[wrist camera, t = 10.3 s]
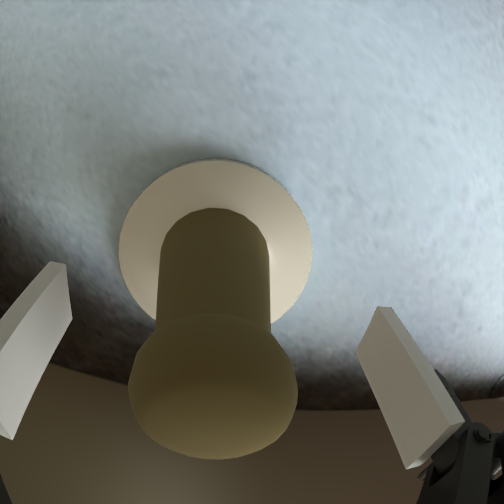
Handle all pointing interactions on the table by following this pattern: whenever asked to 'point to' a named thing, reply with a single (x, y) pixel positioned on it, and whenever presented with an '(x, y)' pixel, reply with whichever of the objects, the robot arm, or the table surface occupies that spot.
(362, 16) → the table surface
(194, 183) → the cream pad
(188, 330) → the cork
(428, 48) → the table surface
